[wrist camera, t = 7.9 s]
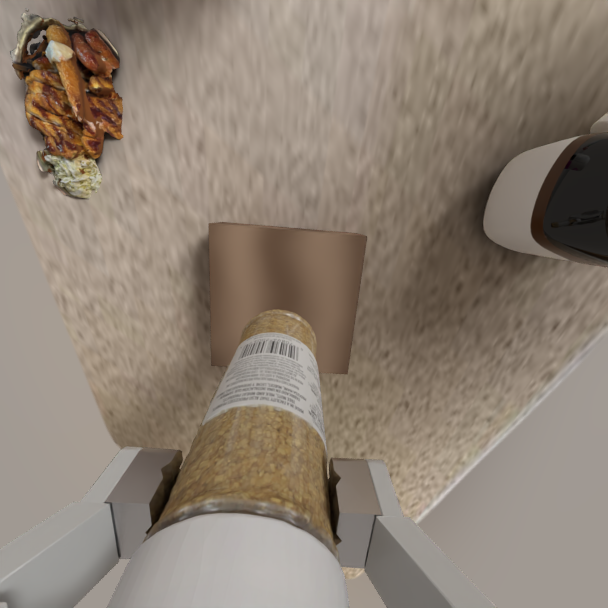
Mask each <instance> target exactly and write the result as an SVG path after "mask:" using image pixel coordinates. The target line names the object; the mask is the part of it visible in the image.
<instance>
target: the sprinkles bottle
mask: <svg viewBox="0 0 608 608" xmlns="http://www.w3.org/2000/svg"><path fill="white" fill-rule="evenodd" d="M316 348H317V342H316V336H315V333H314V331H313V330H312V328H311V326H310V325H309V324H308V322H307V321H306V320H305V319H303V318H302V317H301V316H299V315H298V314H296V313H293V312H290V311H287V310H279V309H277V310H269V311H265V312H262V313H260V314H258V315H257V316H255V317H254V318H252V319H251V320H250V321H249V322H248V323H247V324H246V326H245V327H244V329H243V331H242V334H241V338H240V343H239V345H238V347H237V349H236V351H235V354H234V356H233V358H232V360H231V362H230V363H229V365H228V367H227V369H226V371H225V373H224V375H223V377H222V379H221V381H220V383H219V385H218V388H217V390H216V392H215V394H214V396H213V398H212V400H211V402H210V406H209V408H208V411H207V413H206V415H205V417H204V419H203V421H202V423H201V425H200V428H199V430H198V433H197V435H196V437H195V439H194V441H193V443H192V446H191V450H190V452H189V454H188V456H187V457H186V459H185V462H184V464H183V466H182V468H181V470H180V473H179V475H178V477H177V479H176V484H175V485H174V487H173V488H172V491H171V493H170V497H169V501H168V502H167V504H166V505H165V508H164V510H163V512H162V514H161V515H160V518H159V520H158V522H156V523H155V524H154V525H153V527H152V529H151V530H150V532H149V533H148V534H147V536H146V537H145V539H144V541H143V543H142V545H141V546H140V547H139V548H138V549H137V550H136V551H135V553H134V554H133V556H132V558H131V559H130V561H129V563H128V564H127V567H126V568H125V571H124V573H123V575H122V577H121V579H120V581H119V583H118V586H117V587H116V589H115V591H114V593H113V595H112V598H111V600H110V602H109V604H108V606H107V608H349V601H348V593H347V586H346V582H345V576H344V573H343V571H342V568H341V566H340V559H339V553H338V550H337V547H336V545H335V543H334V541H333V532H332V522H331V510H330V503H329V492H328V491H329V485H328V477H327V448H326V439H325V430H324V420H323V410H322V400H321V390H320V380H319V371H318V365H317V362H316V355H315V353H316Z"/></svg>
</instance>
